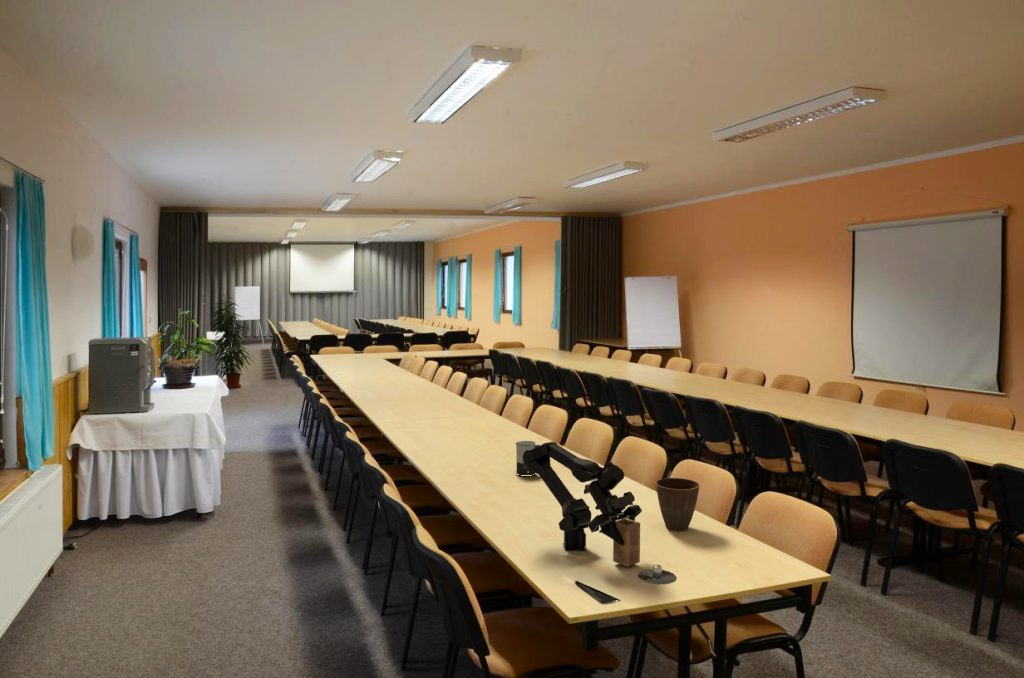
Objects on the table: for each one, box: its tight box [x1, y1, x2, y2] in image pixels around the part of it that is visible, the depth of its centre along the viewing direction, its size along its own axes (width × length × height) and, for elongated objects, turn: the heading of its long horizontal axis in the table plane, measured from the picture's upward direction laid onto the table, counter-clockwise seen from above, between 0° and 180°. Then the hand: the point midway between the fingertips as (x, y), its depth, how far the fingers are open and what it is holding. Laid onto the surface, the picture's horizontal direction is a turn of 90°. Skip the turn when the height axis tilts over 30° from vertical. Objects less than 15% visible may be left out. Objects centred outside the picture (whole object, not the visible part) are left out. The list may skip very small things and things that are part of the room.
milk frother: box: [515, 440, 541, 475], centre depth 329 cm, size 14×16×15 cm
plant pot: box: [655, 477, 700, 532], centre depth 251 cm, size 15×15×16 cm
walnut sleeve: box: [612, 518, 641, 567], centre depth 214 cm, size 6×6×12 cm
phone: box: [574, 580, 621, 604], centre depth 198 cm, size 8×1×15 cm
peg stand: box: [637, 564, 677, 585], centre depth 206 cm, size 11×11×4 cm
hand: (630, 542), depth 213 cm, fingers open, 6 cm apart
